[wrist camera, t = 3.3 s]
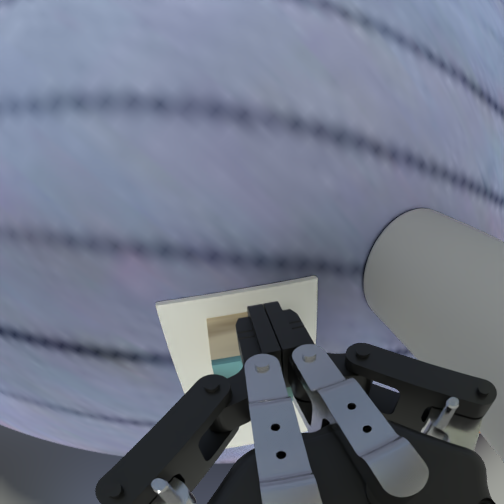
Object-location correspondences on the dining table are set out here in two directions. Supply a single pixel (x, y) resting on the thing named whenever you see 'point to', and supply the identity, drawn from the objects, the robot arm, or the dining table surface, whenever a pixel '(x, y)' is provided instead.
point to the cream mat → (220, 304)
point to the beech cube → (226, 345)
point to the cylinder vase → (444, 299)
